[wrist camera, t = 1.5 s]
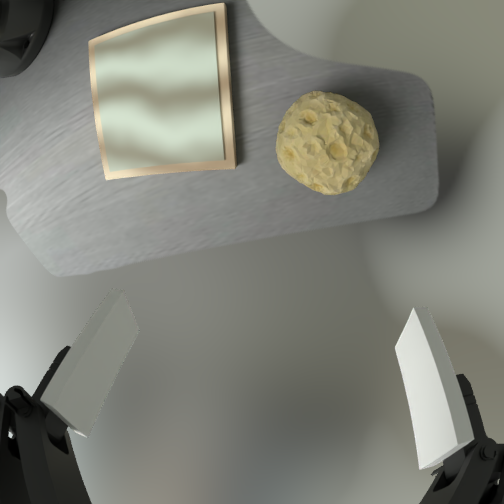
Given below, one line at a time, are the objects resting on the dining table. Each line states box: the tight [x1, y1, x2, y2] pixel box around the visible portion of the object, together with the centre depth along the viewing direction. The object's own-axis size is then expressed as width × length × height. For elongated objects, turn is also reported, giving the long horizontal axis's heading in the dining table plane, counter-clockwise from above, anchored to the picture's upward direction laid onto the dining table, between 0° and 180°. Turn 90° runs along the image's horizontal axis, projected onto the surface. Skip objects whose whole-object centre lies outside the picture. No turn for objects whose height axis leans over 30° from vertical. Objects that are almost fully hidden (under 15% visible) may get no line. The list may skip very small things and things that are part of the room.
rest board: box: [89, 3, 237, 180], centre depth 24 cm, size 18×16×1 cm
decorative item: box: [276, 91, 379, 195], centre depth 23 cm, size 10×10×10 cm
